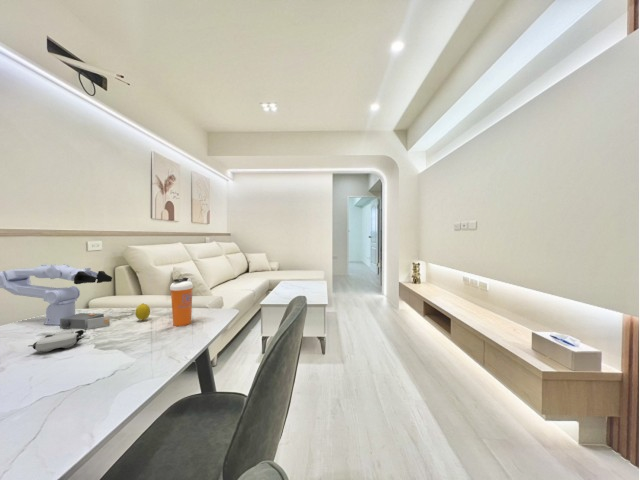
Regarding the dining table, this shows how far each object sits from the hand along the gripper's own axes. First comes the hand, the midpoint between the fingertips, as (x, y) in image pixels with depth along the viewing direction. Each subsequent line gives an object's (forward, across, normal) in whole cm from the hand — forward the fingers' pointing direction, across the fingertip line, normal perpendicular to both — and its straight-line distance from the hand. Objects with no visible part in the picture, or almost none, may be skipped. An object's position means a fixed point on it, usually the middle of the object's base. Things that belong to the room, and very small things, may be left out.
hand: (103, 279), depth 112 cm
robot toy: (+10, -20, +22) cm, 31 cm away
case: (-4, 0, +21) cm, 21 cm away
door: (+5, -3, +19) cm, 20 cm away
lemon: (+18, +7, +16) cm, 25 cm away
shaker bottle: (+39, +4, +14) cm, 41 cm away
